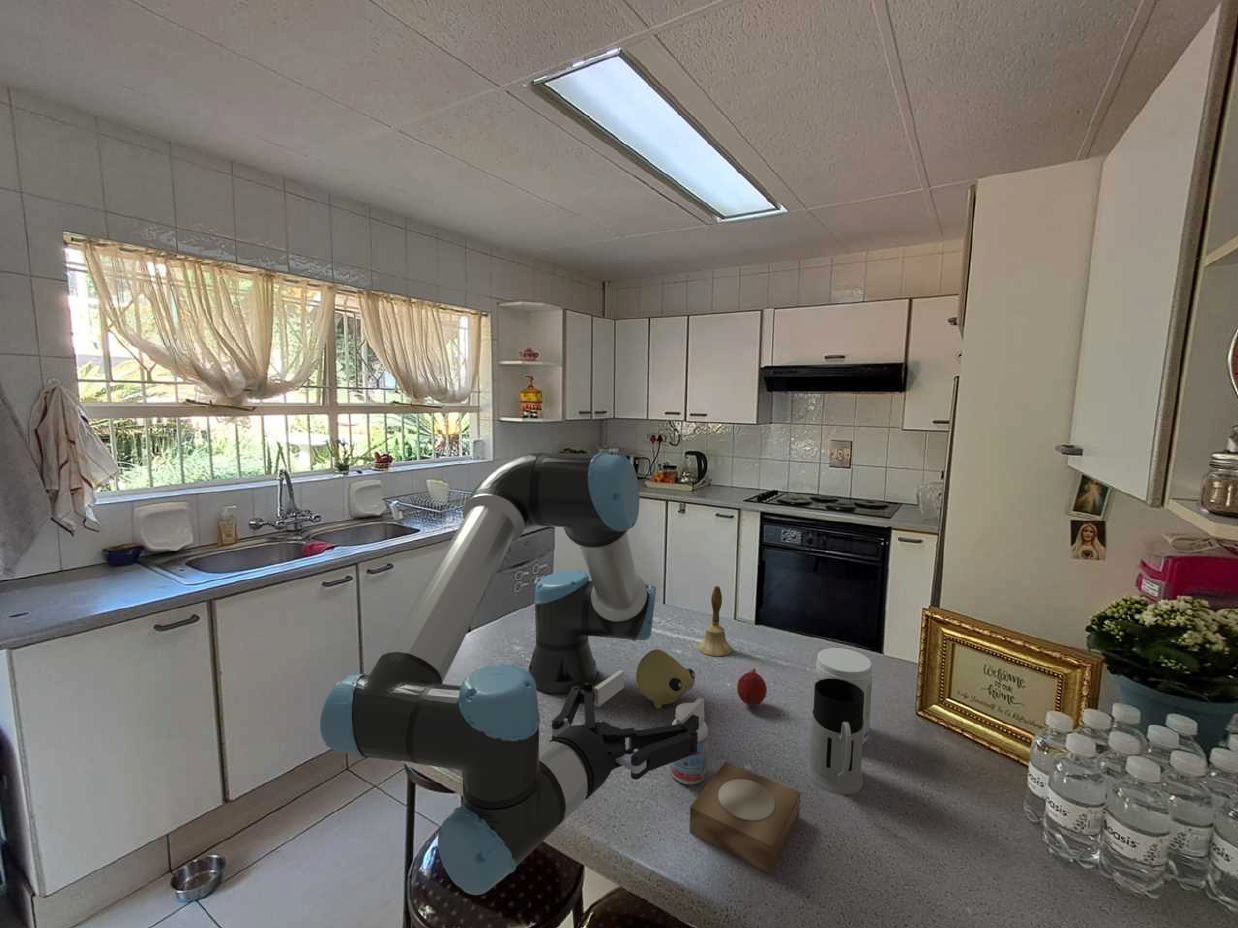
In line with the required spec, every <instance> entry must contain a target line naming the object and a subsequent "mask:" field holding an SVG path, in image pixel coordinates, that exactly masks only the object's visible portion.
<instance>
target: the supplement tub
mask: <svg viewBox="0 0 1238 928" xmlns="http://www.w3.org/2000/svg"><path fill="white" fill-rule="evenodd" d="M815 667H816V671H815V683H816V682H817V681H819V680H822V679H829V678H832V679H840V680H844V681H848V682H850V683H853V684H855V685H856V686H858V687H859V688H860V689H861V690H862V691H863V692H864V709H863V719H864V729H863V745H864V744H865V743H867V741H868V739H869V738H870V727H871V725H870V723H871V707H872V706H871V705H872V703H871V702H872V690H873V689H872V687H873V686H872V685H873V664H872V662H871V660H870V658H868V657H867V656H866V655H864V654H863V653H860V652H858V651H855V650H852V649H847V648H841V647H829V648H826V649H822V650H820V651H819V652H818V654H817V659H816V665H815Z"/></svg>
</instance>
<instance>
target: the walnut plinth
mask: <svg viewBox="0 0 1238 928" xmlns="http://www.w3.org/2000/svg"><path fill="white" fill-rule="evenodd" d="M723 762H724V763H723V764H722V765H721V766H720V768H719V769H718V770H717V772H715V774H714V775H713V777H712V778H711V779H710V781H708V782H707V784H706V785H705V787H704V788H703V790H702V791H701V792H700V793H699V795H698V796H697V797H696V798H695V800H694V801H693V802H692V804H691V806H689V833H690V834H692V835H694V836H695V837H698V838H700V839H702V840H704V841H706V842H708V843H709V844H711V845H714V846H715V847H718V848H719V849H721V850H723V851H725V852H728V853H729V854H731V855H733V856H734V857H736V858H739V859H741V860H743V861H744V862H747V863H748V864H751V865H752V866H755V867H756V868H758V869H761V870H762V871H764V872H766V873H768V874H771V875H772V873H773V872H774V869H775V866H777V865H776V864H778V863H777V862H778V861H779V859H780V857H781V855H782V852H783V851H784V849H785V846H786V845H787V843H788V841H789V838H790V836H791V835H792V833H793V830H794V829H795V827H796V824H797V822H798V821H799V818H800V812H801V811H800V809H801V808H800V806H801V792H800V791H797V790H795V789H793V788H791V787H788V786H786V785H784V784H781V783H778V782H776V781H773V780H772V779H768V778H766V777H764V776H762V775H759V774H757V773H754V772H751V771H750V770H747V769H744V768H742V767H739V766H737V765H735V764H732V763H730V762H727V761H723Z"/></svg>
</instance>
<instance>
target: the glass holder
mask: <svg viewBox="0 0 1238 928" xmlns="http://www.w3.org/2000/svg"><path fill="white" fill-rule="evenodd" d="M863 709H864V692H863V691H862V690H861V689H860V688H859V687H858V686H856V685H855V684H853V683H850V682H848V681H844V680H840V679H832V678H829V679H822V680H819V681H817V682H816V681H815V684H814V694H813V708H812V711H811V731H810V733H811V734H810V748H809V749H810V751H809V753H810V754H809V755H810V756H809V762H808V763H807V765H806V774H807V776H808V778H809V779H810V780H811V782H813V783H814V785H816V786H818V787H819V788H820V789H823V790H825V791H827V792H830V793H833V794H837V795H853V794H855V793H858V792H860V791H861V789H863V787H864V778H863V776H862V760H863V747H864V746H863V745H864V744H863V729H864V719H863Z"/></svg>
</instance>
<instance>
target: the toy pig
mask: <svg viewBox="0 0 1238 928" xmlns="http://www.w3.org/2000/svg"><path fill="white" fill-rule="evenodd" d="M635 676H636V678H635V679H636V683H637V686H638V688H637V693H638V695H639V696H642V695H643V696H644V697H645V698H646V699H648V700H650V701H651V702H653V704H654V707H655V709H657V710H659V709H661V708H662V707H663V705H669V704H672V703H675V702H676V701H678V699H680V697H682V696H683V695H684V694H686V693H687V692H688V691H691V690H692V689H693V687H694V685H695V683H696V680H695V678H696V672H695V671H694V669H692V668H688V667H687V668H686V667H685V666H683V665H682V664H681V663H680V662H679V661H678V660H676V659H675V658H674V657H673V656H671V655H670V654H668V653H667V652H665V651H664V650H662V649H656V648H655V649H653V650H651V651H649V652H647V653H646V654H644V656H643V657H642V658H641V660H640V661H639V663H638V665H637V668H636V674H635Z"/></svg>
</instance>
